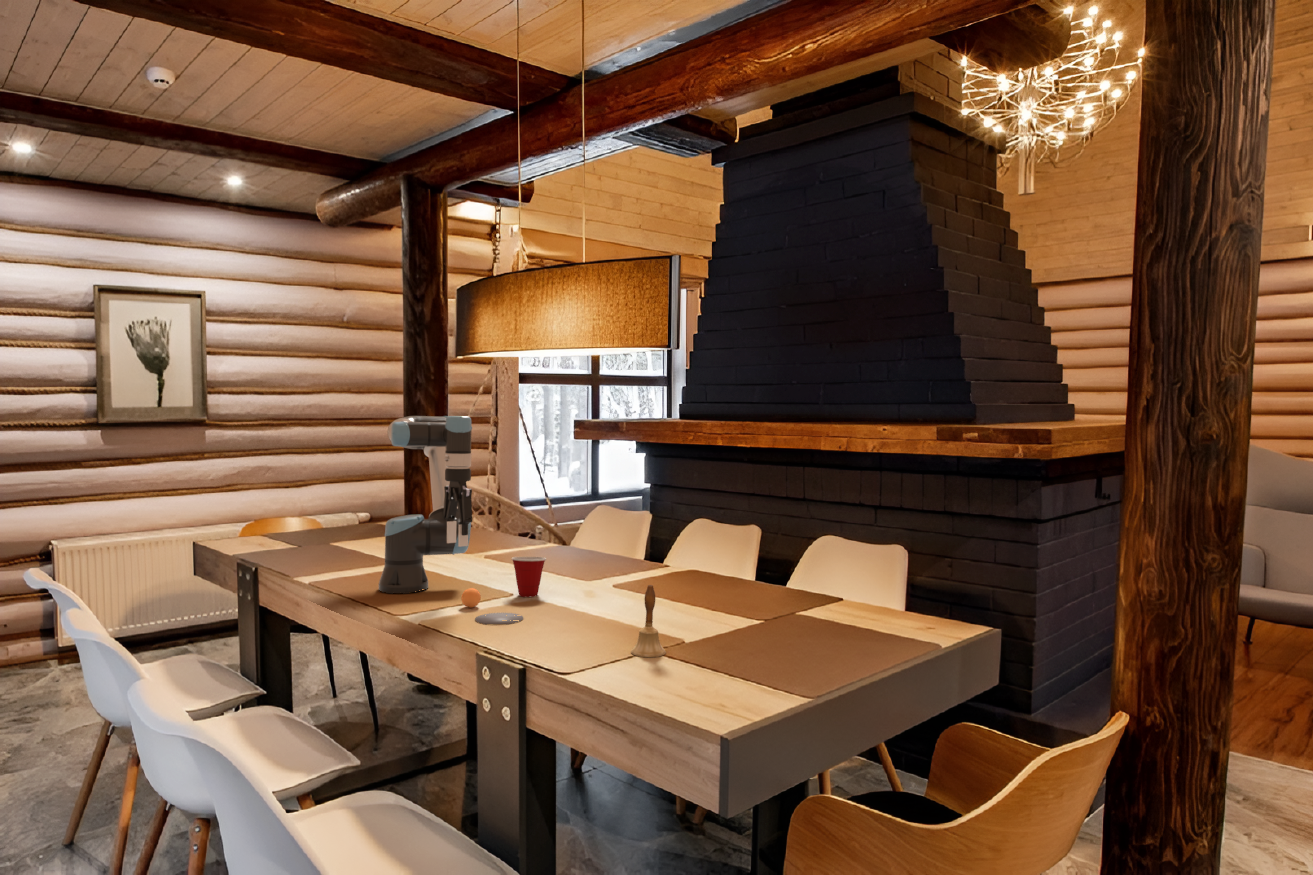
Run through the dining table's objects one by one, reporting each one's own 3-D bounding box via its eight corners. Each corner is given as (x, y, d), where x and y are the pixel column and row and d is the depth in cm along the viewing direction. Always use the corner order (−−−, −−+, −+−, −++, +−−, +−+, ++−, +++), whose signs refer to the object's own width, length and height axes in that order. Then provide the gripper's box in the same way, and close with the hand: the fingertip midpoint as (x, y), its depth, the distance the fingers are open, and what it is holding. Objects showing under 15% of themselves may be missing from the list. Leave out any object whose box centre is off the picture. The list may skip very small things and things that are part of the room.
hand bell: (646, 645, 197) (647, 580, 197) (672, 652, 192) (674, 585, 192) (623, 653, 191) (624, 585, 190) (650, 660, 186) (651, 590, 185)
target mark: (466, 617, 222) (466, 616, 222) (508, 611, 230) (508, 610, 230) (488, 627, 212) (488, 626, 212) (532, 620, 220) (532, 619, 220)
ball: (457, 606, 235) (458, 587, 235) (475, 604, 238) (475, 585, 238) (466, 610, 230) (466, 591, 230) (484, 607, 234) (484, 588, 234)
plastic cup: (549, 592, 257) (550, 554, 257) (541, 599, 246) (542, 560, 246) (516, 590, 258) (516, 553, 258) (506, 598, 247) (507, 559, 247)
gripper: (432, 466, 246) (431, 541, 247) (461, 469, 231) (460, 550, 231) (455, 465, 251) (454, 539, 251) (485, 469, 235) (484, 547, 236)
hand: (457, 544), depth 241 cm, fingers open, 7 cm apart
